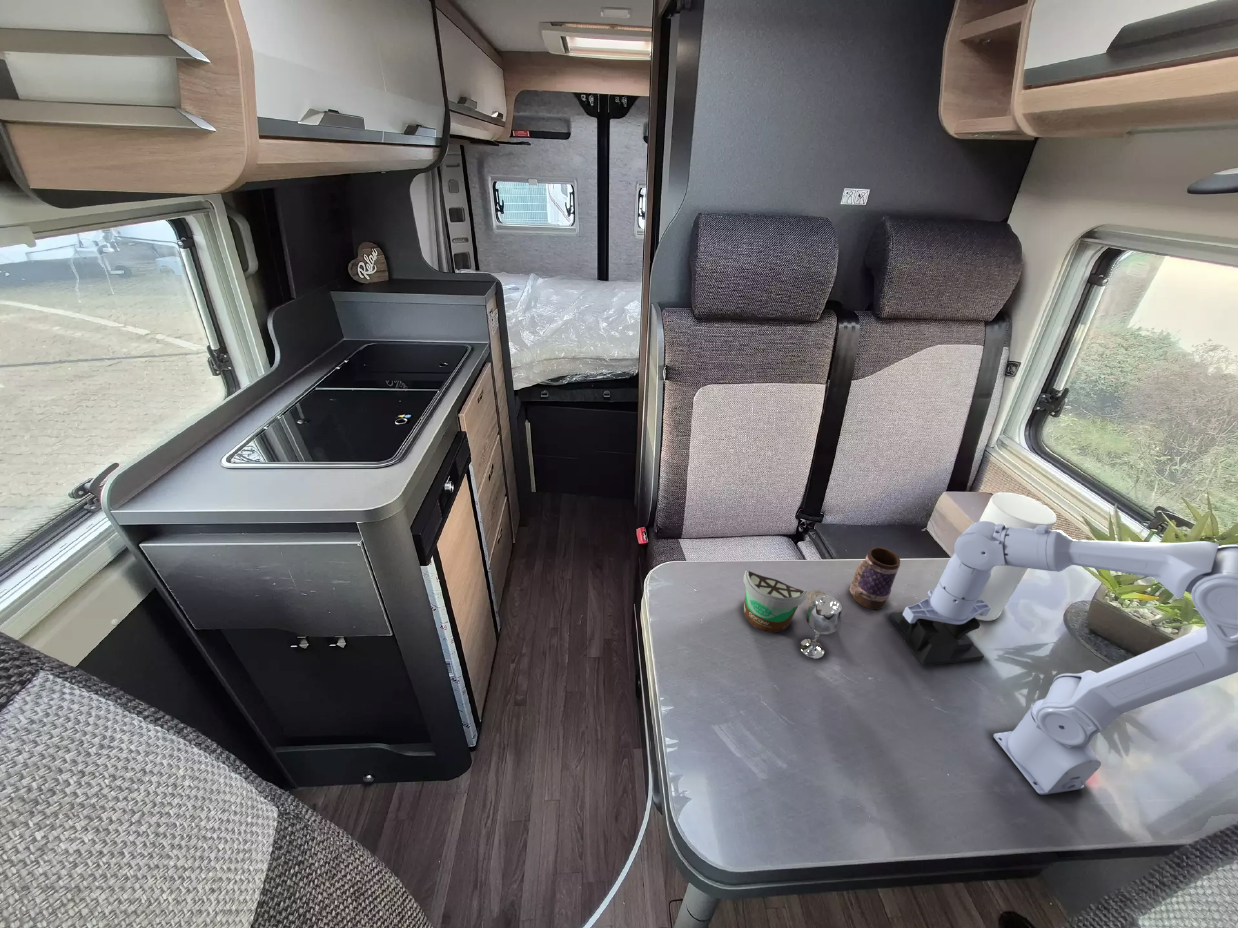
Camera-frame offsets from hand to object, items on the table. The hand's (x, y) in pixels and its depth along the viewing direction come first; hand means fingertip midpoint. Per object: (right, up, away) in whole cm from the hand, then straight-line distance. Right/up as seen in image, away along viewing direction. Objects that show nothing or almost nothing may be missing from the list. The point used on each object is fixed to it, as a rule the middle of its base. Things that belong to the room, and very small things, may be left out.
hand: (929, 644), depth 92 cm
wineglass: (-17, -4, +8) cm, 20 cm away
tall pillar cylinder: (+22, +2, +22) cm, 31 cm away
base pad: (+8, -3, +12) cm, 15 cm away
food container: (-25, -1, +13) cm, 29 cm away
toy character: (-14, 0, +16) cm, 21 cm away
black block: (0, -1, +1) cm, 1 cm away
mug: (-2, +2, +20) cm, 21 cm away
